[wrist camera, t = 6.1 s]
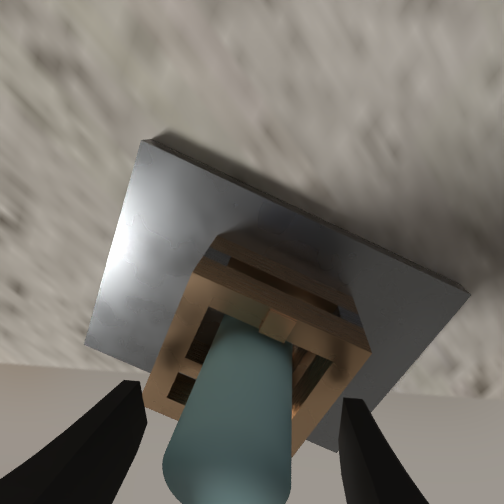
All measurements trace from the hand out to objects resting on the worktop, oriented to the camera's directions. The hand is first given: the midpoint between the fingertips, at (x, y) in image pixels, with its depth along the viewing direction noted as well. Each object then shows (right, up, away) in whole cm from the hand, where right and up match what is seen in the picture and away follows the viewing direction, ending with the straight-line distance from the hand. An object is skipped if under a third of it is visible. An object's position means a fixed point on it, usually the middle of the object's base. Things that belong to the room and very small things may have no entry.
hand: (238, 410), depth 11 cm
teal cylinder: (+1, +2, +5) cm, 5 cm away
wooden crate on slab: (+1, +2, +6) cm, 6 cm away
